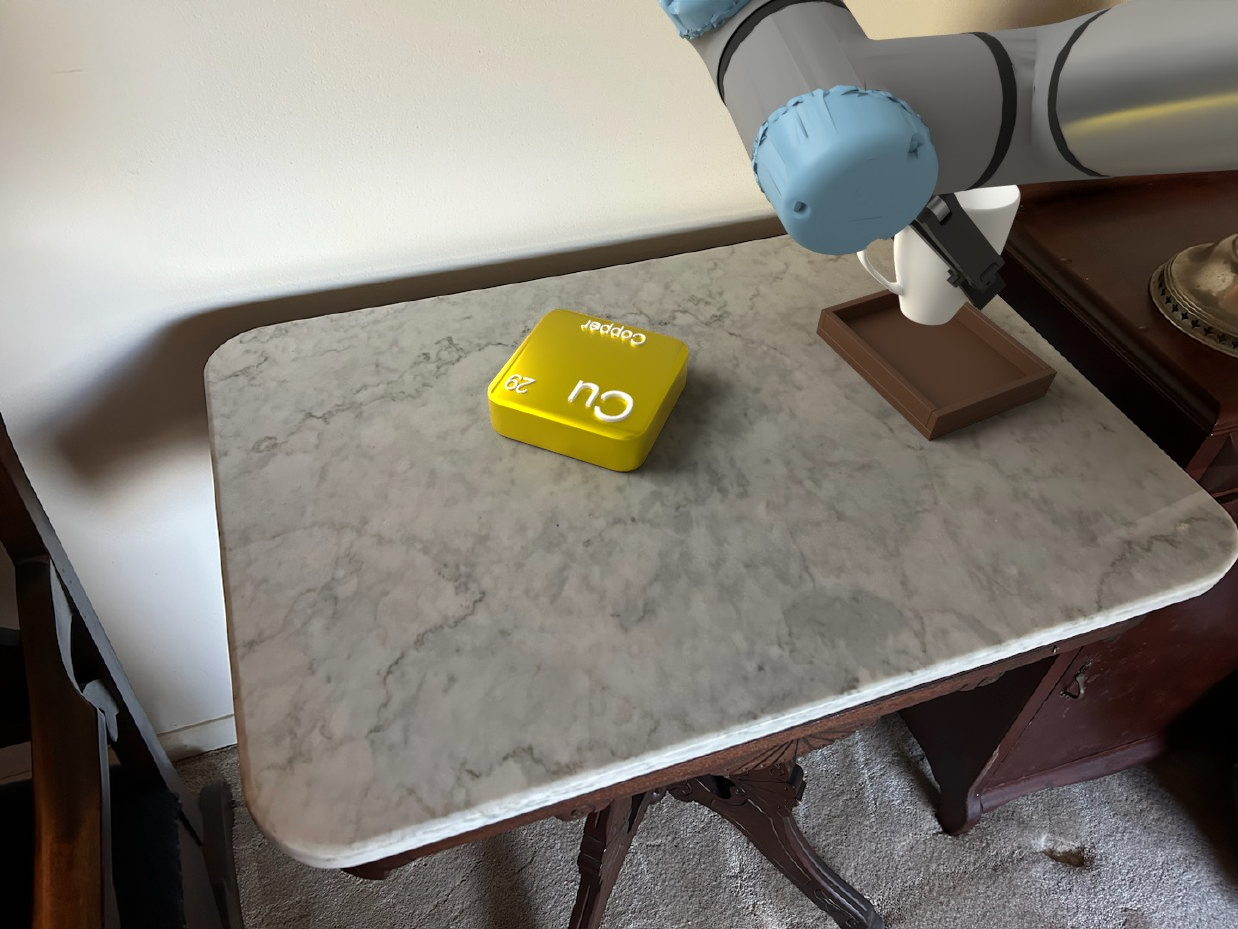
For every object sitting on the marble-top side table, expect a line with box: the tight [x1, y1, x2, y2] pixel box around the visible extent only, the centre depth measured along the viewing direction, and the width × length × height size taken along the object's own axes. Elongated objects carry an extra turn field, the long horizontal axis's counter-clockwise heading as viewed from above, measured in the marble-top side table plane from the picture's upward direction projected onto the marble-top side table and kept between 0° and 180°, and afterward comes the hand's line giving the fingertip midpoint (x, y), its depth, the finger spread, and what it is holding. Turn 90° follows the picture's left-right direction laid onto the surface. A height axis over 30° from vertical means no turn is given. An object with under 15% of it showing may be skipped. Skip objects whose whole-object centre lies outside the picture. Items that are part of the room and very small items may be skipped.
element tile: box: [487, 308, 690, 472], centre depth 78 cm, size 15×15×5 cm
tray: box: [815, 288, 1058, 441], centre depth 84 cm, size 18×15×3 cm
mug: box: [856, 185, 1021, 325], centre depth 68 cm, size 12×8×11 cm
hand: (950, 266), depth 70 cm, fingers closed on mug, 8 cm apart
